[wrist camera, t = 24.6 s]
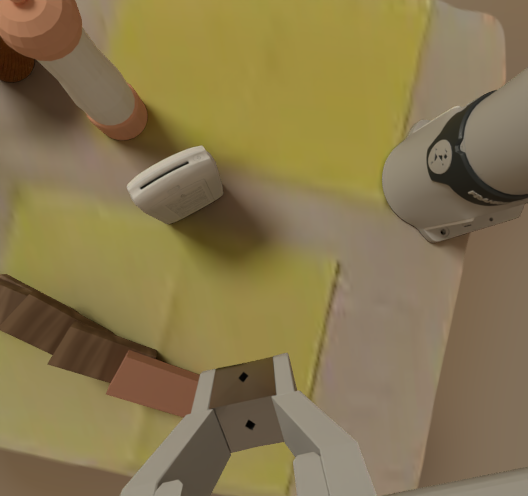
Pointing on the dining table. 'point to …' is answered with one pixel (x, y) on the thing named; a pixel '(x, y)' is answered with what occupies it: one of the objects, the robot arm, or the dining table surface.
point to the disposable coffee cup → (13, 64)
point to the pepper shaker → (74, 62)
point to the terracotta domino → (154, 384)
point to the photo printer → (177, 185)
